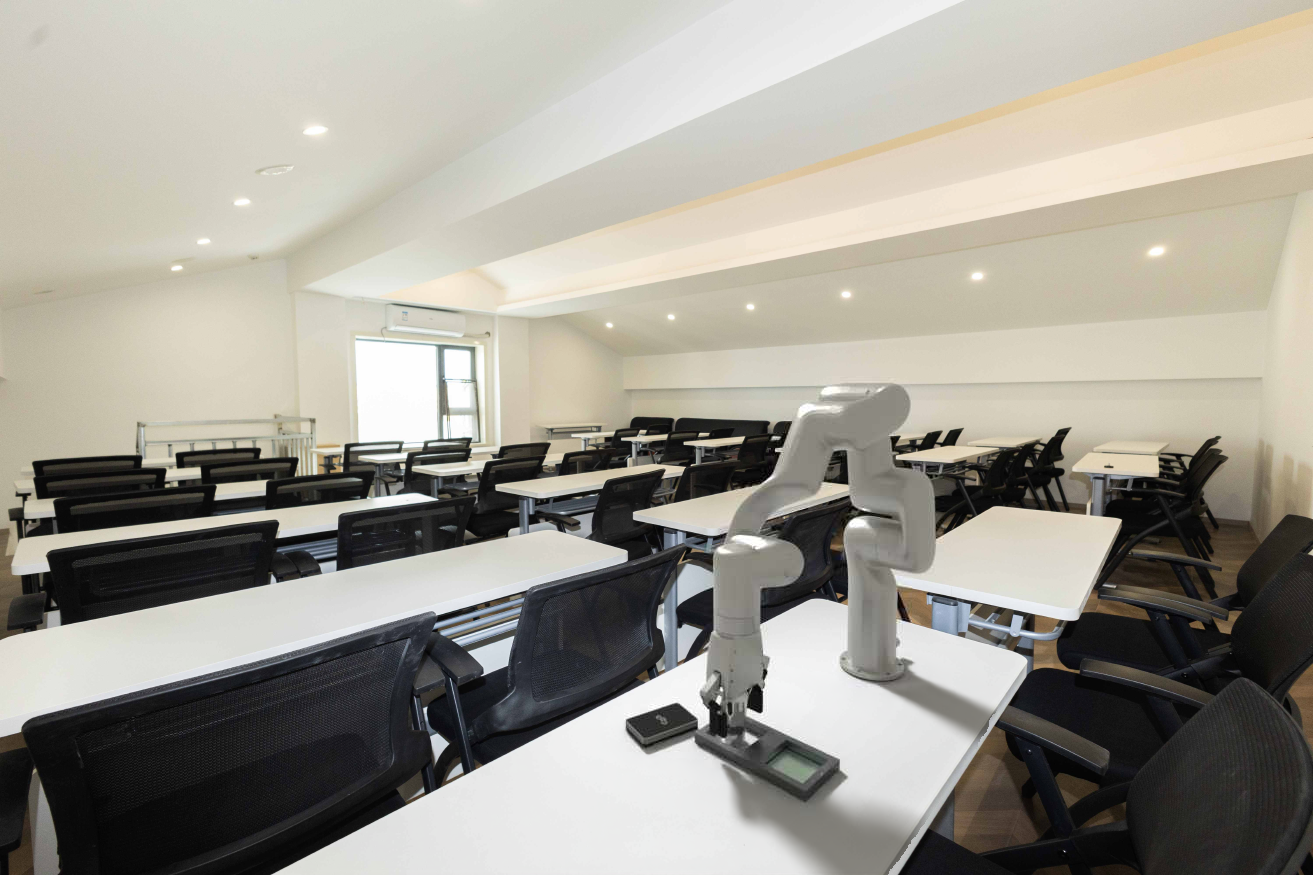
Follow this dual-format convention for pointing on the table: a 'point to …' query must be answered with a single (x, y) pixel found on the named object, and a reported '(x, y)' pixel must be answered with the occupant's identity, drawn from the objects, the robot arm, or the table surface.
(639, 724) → the external hard drive
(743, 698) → the milkshake
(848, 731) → the table surface
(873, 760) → the table surface
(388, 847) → the table surface
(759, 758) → the two-slot gray tray
